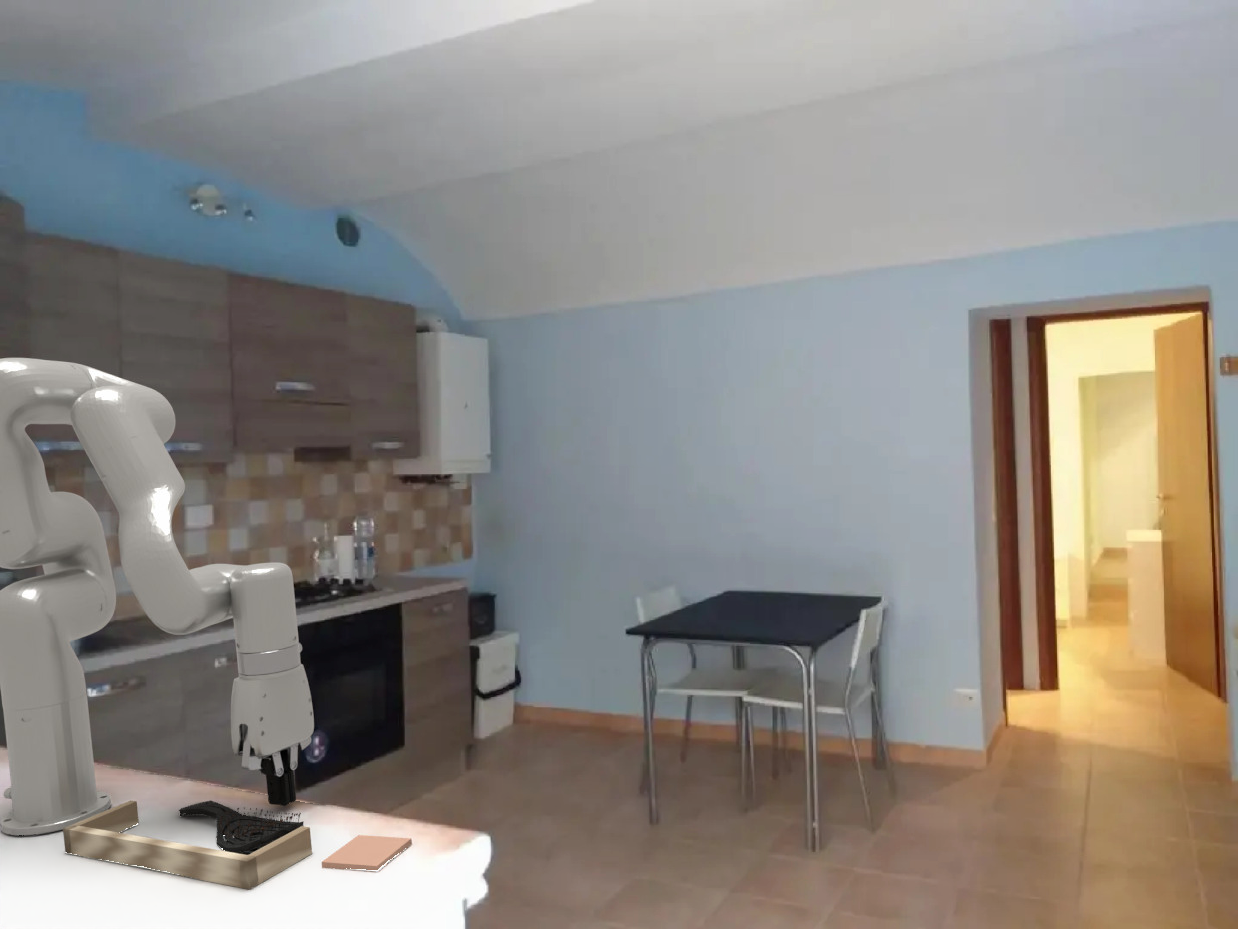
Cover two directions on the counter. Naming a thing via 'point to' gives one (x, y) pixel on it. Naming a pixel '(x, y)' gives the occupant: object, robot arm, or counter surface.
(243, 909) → the counter surface
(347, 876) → the counter surface
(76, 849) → the u-shaped wooden frame
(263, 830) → the hairbrush
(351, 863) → the terracotta tile
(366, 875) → the counter surface
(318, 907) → the counter surface
